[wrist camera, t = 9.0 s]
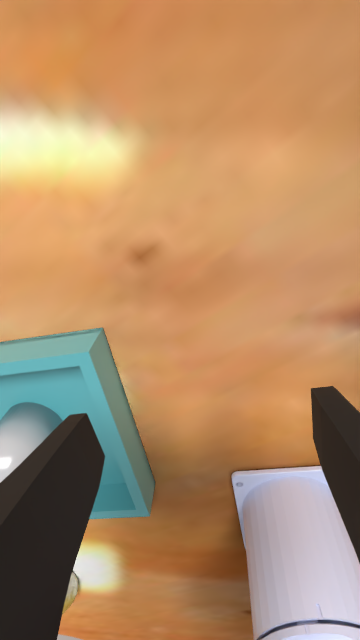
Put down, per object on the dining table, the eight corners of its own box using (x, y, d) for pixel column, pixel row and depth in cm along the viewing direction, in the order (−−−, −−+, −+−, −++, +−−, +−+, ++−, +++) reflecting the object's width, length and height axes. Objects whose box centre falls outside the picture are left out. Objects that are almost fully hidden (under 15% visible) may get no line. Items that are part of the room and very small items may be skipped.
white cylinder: (73, 448, 25) (42, 514, 20) (16, 449, 25) (-25, 513, 21) (56, 401, 23) (19, 462, 18) (-4, 403, 23) (-55, 463, 19)
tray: (155, 483, 27) (149, 516, 24) (-5, 492, 29) (-24, 524, 27) (102, 327, 21) (88, 351, 18) (-95, 355, 23) (-131, 380, 20)
